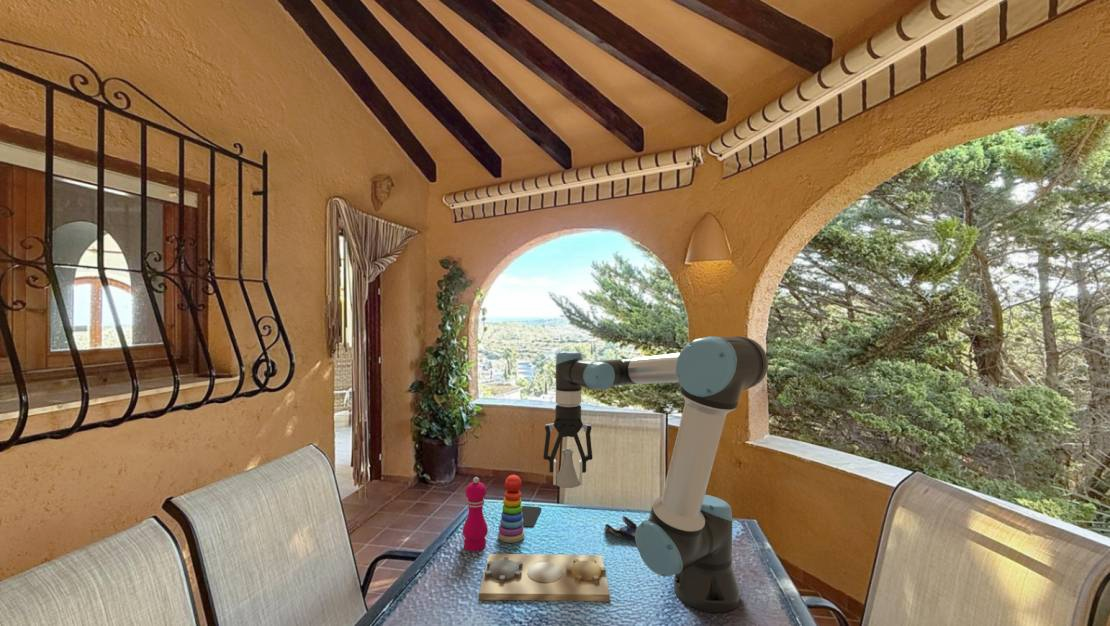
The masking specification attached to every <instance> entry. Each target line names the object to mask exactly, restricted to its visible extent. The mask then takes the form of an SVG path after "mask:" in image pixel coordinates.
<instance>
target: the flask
mask: <svg viewBox="0 0 1110 626" xmlns="http://www.w3.org/2000/svg"><path fill="white" fill-rule="evenodd" d="M562 453H563V457H562V463H561V466H560V469H559V472H558V475H557V476H556V485H555V486H557V487H558V488H559V487H560V488H561V489H574V488H578V487H580V486H581V485H579V476H578V474H577V471H576V468H575V464H574V461H573V453H574V449H571V448H564V449H563V448H562Z"/></svg>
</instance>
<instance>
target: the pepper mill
mask: <svg viewBox="0 0 1110 626" xmlns="http://www.w3.org/2000/svg"><path fill="white" fill-rule="evenodd" d="M486 495H487V488H486V486H485V484H484V483H483V482H480V478H479V477H477V476H475V477H473V479H472V482H470V483H469V484H468V485H467V486H466V488H465V496H466V498H467V500H466V502H467V503H466V506H467V507H468V514H467V517H466V520H465V522H464V524H463V527H462V536H463V538H464V541H463V548H464V550H465V551H469V552H478V551H482V550H483V549H485V547H486V546H487V539H486V536H487V535H488V534H489V533H488V532H489V530H488V525H487V521H486V519H485V517H484V513H483V511H484V510H483V506H484V505H485V497H486Z"/></svg>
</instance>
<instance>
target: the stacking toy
mask: <svg viewBox="0 0 1110 626" xmlns="http://www.w3.org/2000/svg"><path fill="white" fill-rule="evenodd" d="M504 487H505V489H506V491H505V492H504V498H503V500H502V503H503V505H502V512H501V518H500V520H499V521H500V523H499V525H498V533H497V536H498V537H497V538H498V539H499V540H500V541H501V542H503V543H508V544H509V543H510V544H513V543H514V544H515V543H518V542H520V541H522V540H523V539H524V537H525V531H524V529H525V527H523V518H522V516H523V513H522V506H523V505H522V499H521V496H522V493H521V490H520V489H521V487H522V480H521V478H520V477H519V476H518V474H517V475H516V474H511V475H510V474H509V476H507V477H506V479H505V481H504Z"/></svg>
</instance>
